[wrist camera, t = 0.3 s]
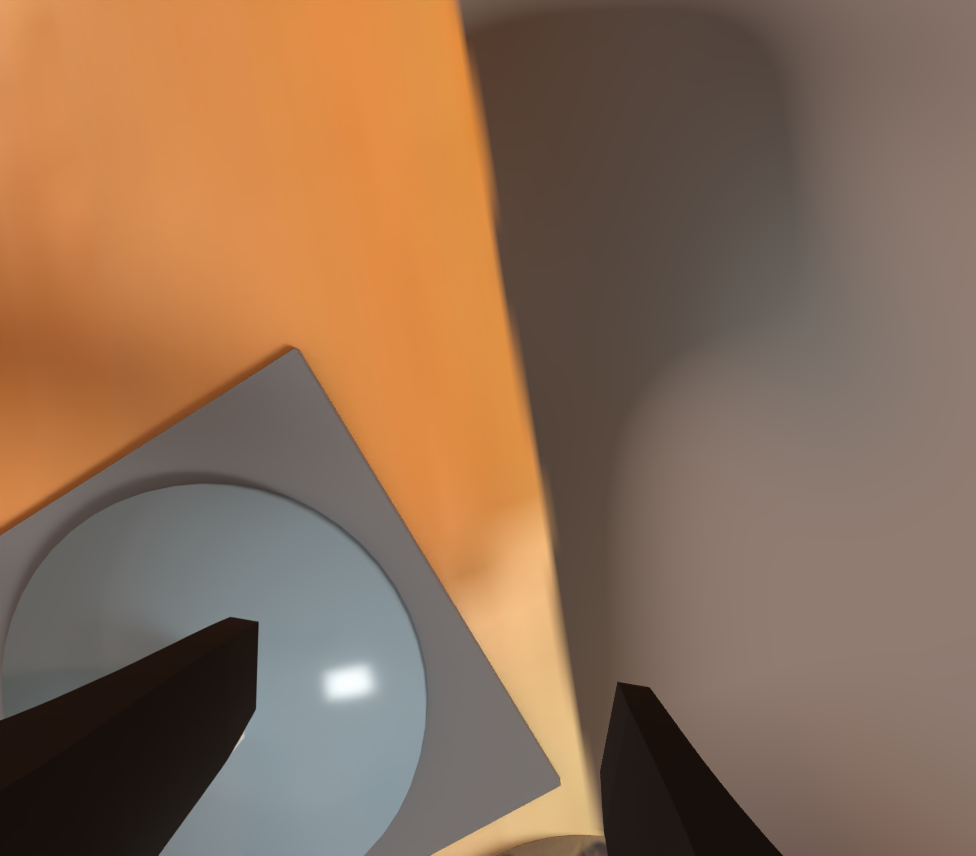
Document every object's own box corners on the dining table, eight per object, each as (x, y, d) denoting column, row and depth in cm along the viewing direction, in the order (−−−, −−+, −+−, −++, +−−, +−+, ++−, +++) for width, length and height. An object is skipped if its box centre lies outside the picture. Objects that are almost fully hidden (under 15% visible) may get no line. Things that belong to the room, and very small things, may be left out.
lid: (433, 898, 21) (401, 1087, 15) (33, 884, 22) (-139, 1056, 16) (422, 479, 20) (384, 511, 14) (7, 484, 21) (-186, 515, 15)
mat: (156, 994, 22) (150, 1005, 22) (-93, 597, 22) (-104, 601, 22) (559, 778, 21) (560, 785, 20) (298, 349, 21) (294, 348, 20)
